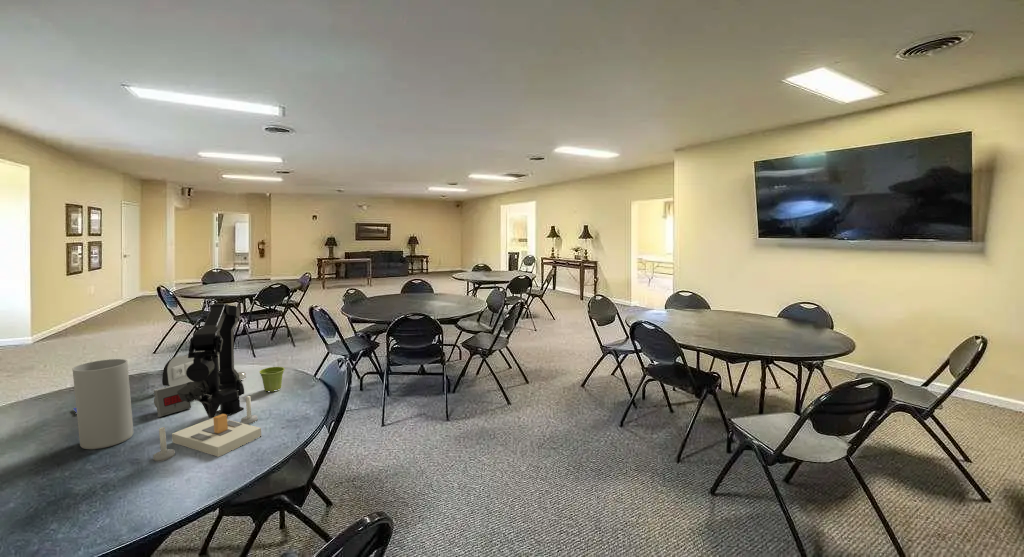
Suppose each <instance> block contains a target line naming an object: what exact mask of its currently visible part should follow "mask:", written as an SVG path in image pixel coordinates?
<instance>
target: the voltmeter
mask: <svg viewBox="0 0 1024 557" xmlns="http://www.w3.org/2000/svg"><path fill="white" fill-rule="evenodd" d="M186 385H188V383H181V384H177V385H173V386H164V387H162V388H159V389H154V390H153V394H154V399H153V404H154V406H155V408H156V411H157V412H156V413H157V418H161V417H165V416H167V415H168V416H169V415H172V414H174V413H178V412H181V411H185V410H188V409H191V408H192V405H191V402H187V401H182V400H181V399H180V397H179V395H178V393H177V392H178V391H179V390H180V389H182V388H183V387H184V386H186Z"/></svg>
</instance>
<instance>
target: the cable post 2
mask: <svg viewBox="0 0 1024 557" xmlns="http://www.w3.org/2000/svg"><path fill="white" fill-rule="evenodd" d="M251 397H252V396H250V395H248V396H247V395H246V396H245V404H246V416H243V417H242V418H241V419H240V423H244V424H247V425H250V424H249V423H252V424H254V423H256V422H258V415H255V414H252V402H251V401H252V400H251V399H252V398H251ZM255 421H256V422H255ZM253 422H254V423H253Z"/></svg>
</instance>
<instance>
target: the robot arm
mask: <svg viewBox="0 0 1024 557" xmlns="http://www.w3.org/2000/svg"><path fill="white" fill-rule="evenodd" d="M240 316H241V311H240V308H239V307H238V306H236V305H231V304H228V303H213V304H210V306H209V312H208V315H207V317H206V320H205V322H204V324H203V326H202V327H200V328H199V329H197V330H196V331H195V332H194V333H193V336H192V337H191V338H190V341H189V342H190V343H189V346H188V347H189V348H188V354H187V355H188V358H194V359H193V363H192V364H191V365H190V366H189V367H188V368H187V371H186V375H187V377H188V378H189V379H190V380H192V381H193V382H189V383H187V385H186V386H184V387H183V388H182V389H180V390H179V391H178V392H177V393H178V395H179V397H180V399H181V400H182V401H187V402H190V403H191V402H194V401H197V402H199V403H200V404H201V405H202V406H203V408H204V411H205V412H206V415H207V417H208V418H209V419H211V418H213V417H215V415H216V414H219V415H221V414H226V415H227V416H229V415H232V414H235V413H238V412H240V411H242V410H244V409H245V408H244V407H243V406H241V401H240V397H241V396H243V395H245V386H244V384H243V382H242V381H241V380H240V379H239V374H238V371H237V370H236V369H235V354H234V353H235V348H234V345H235V344H234V342H235V341H234V330H235V328H236V326H237V324H238V323H239V318H240ZM195 351H202V352H195ZM218 355H219V360H218ZM219 365H220V370H219ZM219 408H220V409H219Z"/></svg>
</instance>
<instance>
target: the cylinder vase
mask: <svg viewBox="0 0 1024 557" xmlns="http://www.w3.org/2000/svg"><path fill="white" fill-rule="evenodd" d="M129 377H130V376H129V365H128V360H127V359H125V358H110V359H103V360H96V361H89V362H85V363H81V364H78V365H76V366H74V367H73V368H72V378H73V388H74V397H75V406H76V407H75V408H76V409H77V415H76V417H77V428H78V436H79V437H78V438H79V446H80V447H81V448H82V449H85V450H99V449H104V448H110V447H113V446H116V445H119V444H122V443H124V442H126V441H128V440H129V439H130V438H132V436H133V435H134V425H133V412H132V401H131V399H132V398H131V389H130V388H131V386H130V378H129Z"/></svg>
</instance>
